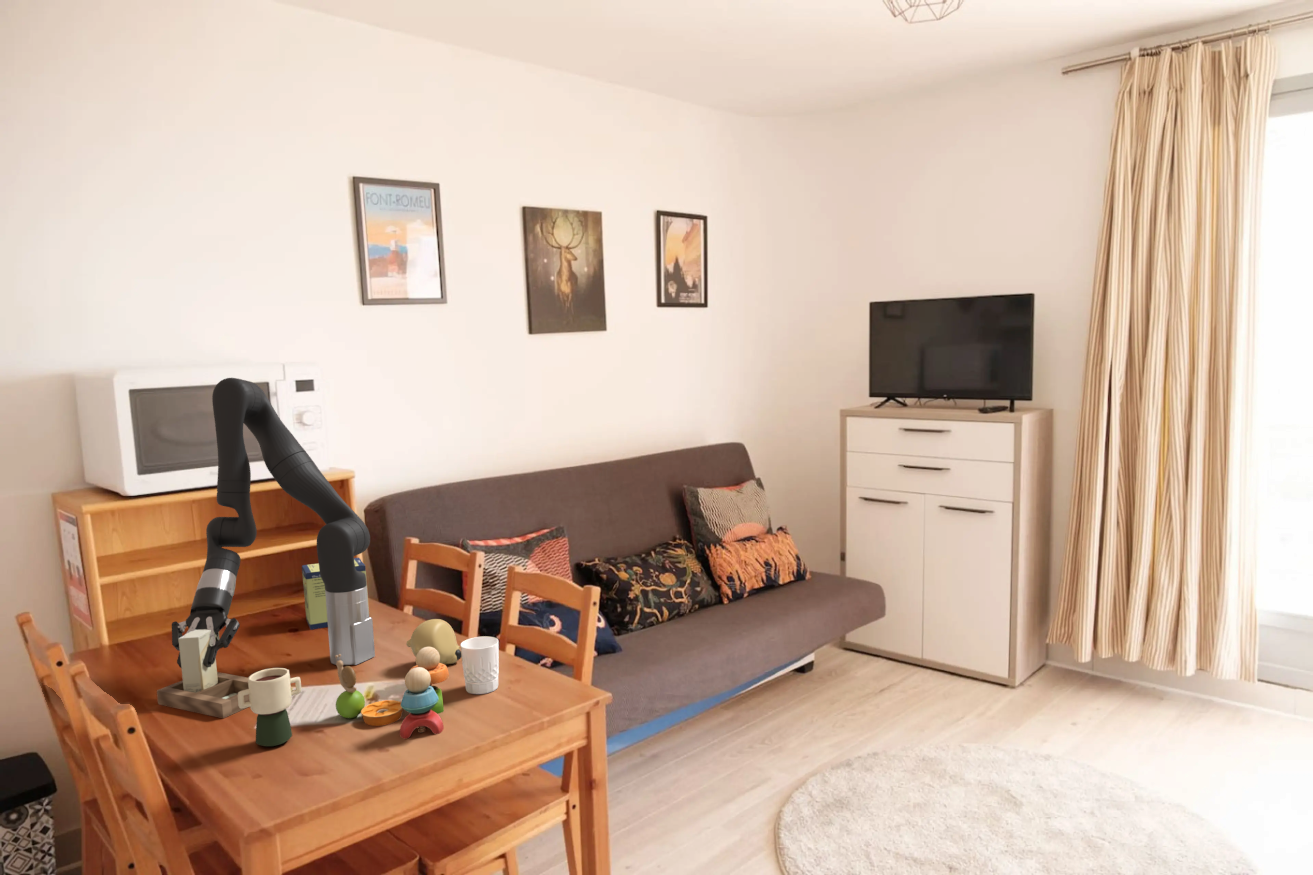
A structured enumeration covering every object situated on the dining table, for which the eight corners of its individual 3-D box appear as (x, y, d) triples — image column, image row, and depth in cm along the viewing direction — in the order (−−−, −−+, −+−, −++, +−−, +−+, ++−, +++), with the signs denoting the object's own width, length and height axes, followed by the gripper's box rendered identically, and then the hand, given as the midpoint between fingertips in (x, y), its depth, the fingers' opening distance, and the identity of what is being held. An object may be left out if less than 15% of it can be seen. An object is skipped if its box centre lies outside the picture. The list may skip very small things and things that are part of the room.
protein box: (305, 620, 234) (300, 564, 233) (364, 610, 241) (360, 556, 240) (309, 630, 225) (304, 572, 223) (370, 620, 232) (366, 564, 231)
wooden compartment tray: (273, 695, 181) (272, 682, 180) (223, 718, 170) (222, 703, 170) (209, 683, 189) (208, 670, 189) (158, 704, 178) (156, 690, 178)
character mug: (299, 727, 164) (294, 661, 163) (310, 739, 159) (305, 671, 157) (238, 744, 158) (232, 676, 156) (247, 758, 152) (241, 687, 151)
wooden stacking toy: (360, 712, 171) (356, 651, 169) (448, 697, 177) (444, 638, 176) (364, 749, 154) (359, 682, 153) (461, 731, 160) (456, 666, 159)
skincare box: (204, 693, 178) (198, 637, 177) (182, 694, 178) (177, 638, 177) (219, 682, 185) (213, 627, 183) (198, 683, 185) (193, 628, 183)
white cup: (464, 697, 176) (461, 650, 175) (462, 684, 183) (459, 638, 182) (502, 692, 178) (500, 645, 177) (499, 679, 185) (496, 634, 184)
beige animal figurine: (445, 685, 192) (477, 647, 196) (408, 655, 187) (441, 616, 190) (430, 671, 201) (461, 635, 204) (394, 642, 195) (426, 605, 199)
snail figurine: (354, 707, 173) (349, 650, 172) (371, 715, 169) (366, 656, 167) (328, 716, 169) (324, 658, 167) (345, 725, 164) (341, 664, 163)
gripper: (174, 587, 186) (151, 660, 176) (241, 583, 187) (223, 656, 177) (187, 604, 192) (166, 676, 181) (253, 600, 193) (236, 671, 182)
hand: (194, 665), depth 179 cm, fingers closed on skincare box, 4 cm apart
